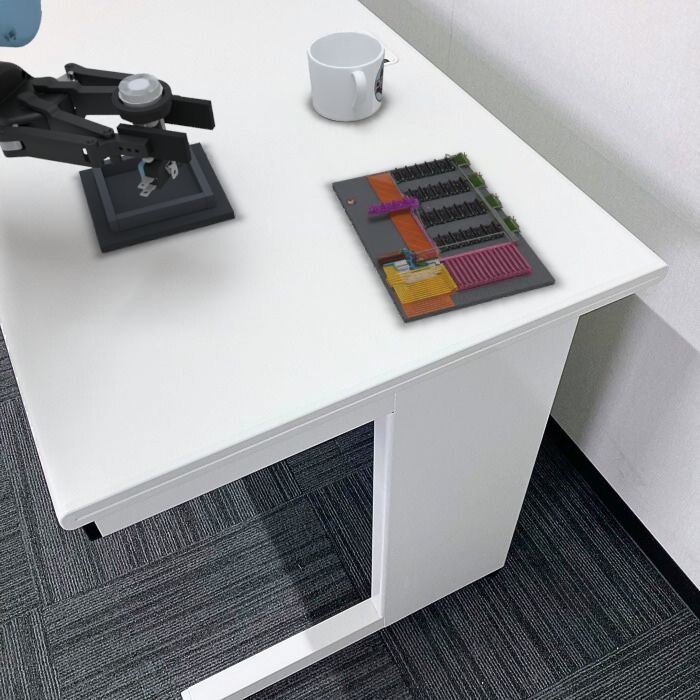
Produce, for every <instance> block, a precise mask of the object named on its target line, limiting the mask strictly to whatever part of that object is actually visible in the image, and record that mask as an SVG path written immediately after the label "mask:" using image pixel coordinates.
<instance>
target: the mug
mask: <svg viewBox="0 0 700 700" xmlns="http://www.w3.org/2000/svg"><path fill="white" fill-rule="evenodd" d="M306 53H307V62H308V71H309V80H310V81H309V82H310V88H311V89H310V90H311V100H312V106H313V109H314V110H315V112H316V113H317V114H319V115H320V116H321V117H324V118H326V119H328V120H332V121H335V122H357V121H361V120H365V119H367V118H369V117H372V116H373V115H374V114H376V113H377V112H378V111H379V110H380V108H381V106H382V102H383V85H384V68H385V54H386V49H385V46H384V43H383V42H382V41H381V40H380V39H379V38H377V37H375V36H374V35H371V34H369V33H365V32H361V31H355V30H353V31H352V30H342V31H333V32H330V33H324V34H323V35H321V36H318V37H317V38H315V39H314V40H312V41H311V42H310V44H309V45H308V48H307V50H306Z"/></svg>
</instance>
